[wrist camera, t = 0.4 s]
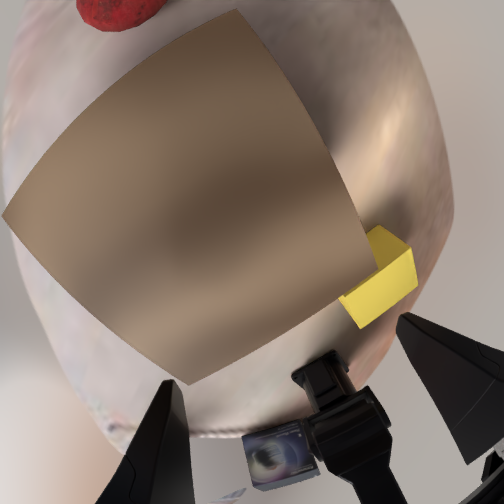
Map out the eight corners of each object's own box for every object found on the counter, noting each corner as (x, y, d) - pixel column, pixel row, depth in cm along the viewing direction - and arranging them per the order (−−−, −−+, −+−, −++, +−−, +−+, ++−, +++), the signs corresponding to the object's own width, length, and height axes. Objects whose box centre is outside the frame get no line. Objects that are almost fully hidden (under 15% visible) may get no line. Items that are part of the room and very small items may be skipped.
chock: (389, 259, 26) (418, 285, 22) (337, 297, 27) (360, 329, 23) (378, 223, 24) (410, 247, 19) (319, 265, 24) (344, 297, 20)
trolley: (325, 192, 21) (406, 246, 12) (167, 299, 23) (164, 396, 14) (238, 49, 15) (283, -10, 6) (63, 186, 16) (-14, 243, 8)
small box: (299, 417, 38) (319, 468, 29) (304, 429, 42) (322, 474, 33) (239, 435, 38) (252, 488, 29) (250, 445, 41) (262, 492, 32)
